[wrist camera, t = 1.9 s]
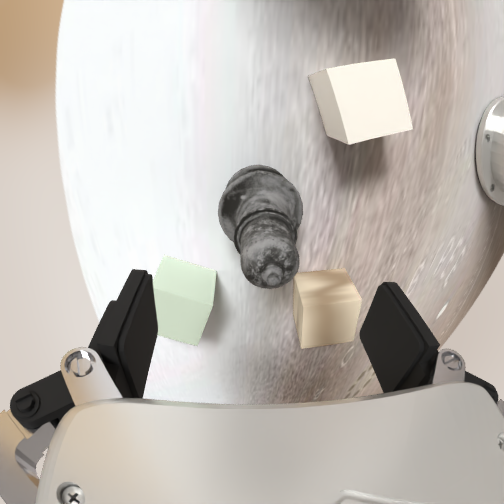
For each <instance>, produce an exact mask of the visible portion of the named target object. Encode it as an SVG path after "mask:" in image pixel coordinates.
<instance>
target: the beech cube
mask: <svg viewBox="0 0 504 504" xmlns="http://www.w3.org/2000/svg"><path fill="white" fill-rule="evenodd" d="M361 302H362V299H361V297H360V295H359V293H358V291H357V290H356V288H355V286H354V284H353V282H352V281H351V279H350V277H349V275H348V273H347V272H346V270H345V268H341V269H331V270H322V271H311V272H301V273H296V275H295V276H294V278H293V316H294V320H295V324H296V329H297V333H298V337H299V342H300V346H301V349H304V348H311V347H319V346H326V345H333V344H339V343H346V342H352V341H353V340H354V336H355V331H356V327H357V322H358V317H359V313H360V307H361Z"/></svg>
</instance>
